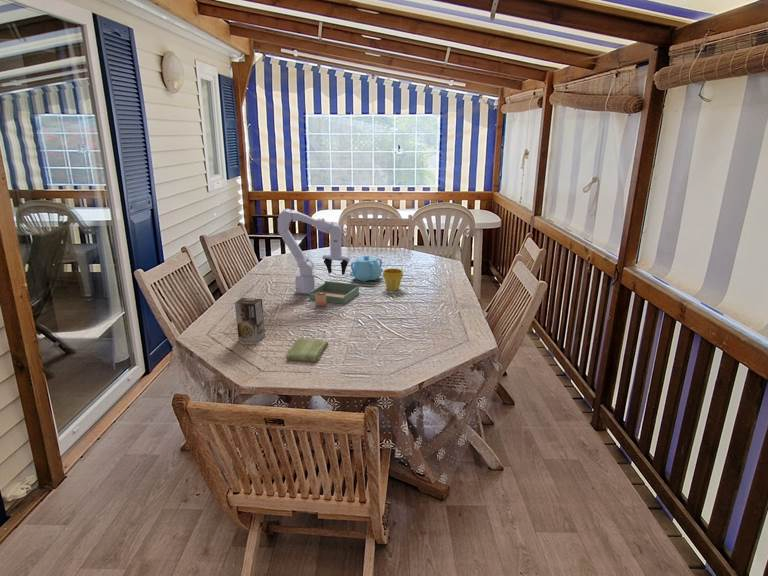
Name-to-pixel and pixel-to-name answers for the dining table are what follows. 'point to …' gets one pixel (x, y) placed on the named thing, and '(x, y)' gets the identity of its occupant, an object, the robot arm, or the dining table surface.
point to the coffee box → (250, 319)
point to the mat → (326, 308)
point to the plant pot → (392, 278)
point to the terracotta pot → (321, 299)
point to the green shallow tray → (336, 291)
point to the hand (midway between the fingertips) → (336, 273)
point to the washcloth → (306, 350)
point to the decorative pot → (366, 268)
